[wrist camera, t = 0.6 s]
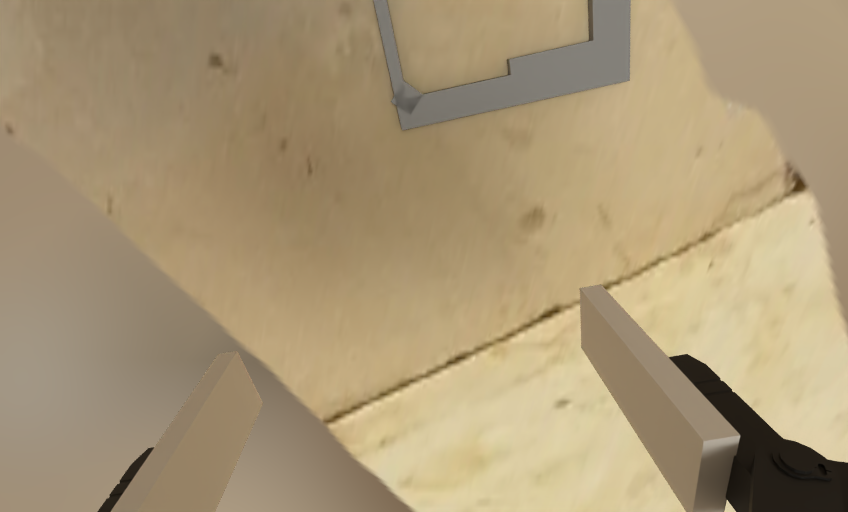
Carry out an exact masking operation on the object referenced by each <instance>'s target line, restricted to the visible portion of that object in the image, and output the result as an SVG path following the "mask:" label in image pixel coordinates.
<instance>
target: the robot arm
mask: <svg viewBox="0 0 848 512" xmlns="http://www.w3.org/2000/svg"><path fill="white" fill-rule="evenodd" d="M580 312H581V348H582V349H583V351H584V352H585V354H586V356H587V357H588V359H589V360H590V362H591V363H592V365H593V366H594V368H595V370H596V371H597V373H598V374H599V376H600V377H601V379H602V381H603V382H604V384H605V385H606V387H607V388H608V390H609V392H610V393H611V395H612V396H613V398H614V399H615V401H616V402H617V404H618V406H619V407H620V409H621V410H622V412H623V413H624V415H625V417H626V418H627V420H628V421H629V423H630V424H631V426H632V428H633V429H634V431H635V432H636V434H637V435H638V437H639V438H640V440H641V442H642V443H643V445H644V446H645V448H646V449H647V451H648V453H649V454H650V456H651V457H652V459H653V460H654V462H655V464H656V465H657V467H658V468H659V470H660V471H661V473H662V474H663V476H664V478H665V479H666V481H667V482H668V484H669V485H670V487H671V489H672V490H673V492H674V493H675V495H676V496H677V498H678V500H679V501H680V503H681V504H682V506H683V507H684V509H685V510H686V512H724V510H725V506H726V501H727V500H728V501H729V503H730V504H731V505H732V507H733V508H734V509H735V511H736V512H848V463H846V462H837V461H832V460H827V459H826V458H825V457H823V456H822V455H820V454H819V453H817V452H816V451H814V450H813V449H811V448H809V447H807V446H805V445H802V444H800V443H798V442H795V441H791V440H786V439H783V438H782V437H781V436H780V435H778V434H777V433H776V432H775V431H774V430H773V429H772V428H771V427H770V426H769V425H768V424H767V423H766V422H765V421H764V420H763V419H762V418H761V417H760V416H759V415H758V414H757V413H756V412H755V411H754V410H753V409H752V408H751V407H749V406H748V405H747V404H746V403H745V402H744V401H743V400H742V399H741V398H740V397H739V396H738V395H737V394H736V393H735V392H734V393H733V392H732V389H731V388H730V387H729V386H728V385H727V384H726V383H725V382H724V381H721V380H720V378H719V377H718V376H717V375H716V374H715V373H714V372H713V371H712V370H711V369H710V368H709V367H708V366H707V365H706V364H704V363H702V362H700V361H699V360H697V359H695V358H693V357H691V356H690V355H688V354H685V355H679V356H673V357H668V356H667V355H666V354H665V353H664V352H663V351H662V350H661V349H660V348H659V347H658V346H657V345H656V344H655V342H654V341H653V340H652V339H651V338H650V337H649V336H648V335H647V334H646V333H645V332H644V331H643V329H642V328H641V327H640V326H639V325H638V324H637V323H636V322H635V321H634V320H633V319H632V318H631V317H630V315H629V314H628V313H627V312H626V311H625V310H624V309H623V308H622V307H621V306H620V305H619V304H618V302H617V301H616V300H615V299H614V298H613V297H612V296H611V295H610V294H609V293H608V292H607V291H606V290H605V288H604V287H603V286H602V285H601V284H600V285H595V286H589V287H584V288H580ZM262 405H263V402H262V401H261V399H260V396H259V394H258V392H257V390H256V388H255V386H254V385H253V382H252V380H251V378H250V376H249V374H248V372H247V370H246V368H245V366H244V364H243V362H242V360H241V358H240V356H239V354H238V352H237V351H234V352H229V353H224V354H218V355H217V357H216V358H215V360H214V361H213V363H212V364H211V366H210V367H209V369H208V370H207V371H206V373H205V374H204V376H203V377H202V379H201V380H200V382H199V383H198V384H197V386H196V387H195V389H194V390H193V392H192V393H191V395H190V396H189V398H188V399H187V401H186V402H185V403H184V405H183V406H182V408H181V409H180V411H179V412H178V414H177V415H176V417H175V418H174V420H173V421H172V423H171V424H170V425H169V427H168V428H167V430H166V432H165V433H164V434H163V436H162V437H161V439H160V440H159V442H158V443H157V444H156V446H155V447H153V448H148V449H147V450H146V451H145V452H144V453H143V454H142V455H141V456H140V457H139V458H138V459H136V461H134V462H133V463H132V465H131V466H130V467H129V469H128V470H127V471H126V473H125V474H124V475H123V477H122V478H121V480H120V484H117V486H116V487H115V488H114V490H113V491H112V492H111V494H110V497H109V498H108V499H106V501H105V502H104V504H103V505H102V506H101V508H100V509H99V511H98V512H215V511H216V508H217V506H218V504H219V502H220V500H221V498H222V495H223V493H224V491H225V488H226V486H227V484H228V481H229V479H230V477H231V475H232V473H233V470H234V468H235V466H236V464H237V461H238V459H239V457H240V455H241V452H242V450H243V448H244V446H245V443H246V441H247V439H248V436H249V434H250V432H251V430H252V428H253V425H254V423H255V421H256V418H257V416H258V414H259V412H260V409H261V407H262Z"/></svg>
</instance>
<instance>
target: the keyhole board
mask: <svg viewBox="0 0 848 512" xmlns="http://www.w3.org/2000/svg"><path fill="white" fill-rule="evenodd" d="M374 5H375V9H376V14H377V18H378V23H379V27H380V32H381V37H382V41H383V46H384V50H385V55H386V59H387V64H388V68H389V73H390V78H391V82H392V87H393V91H394V97H393V99H392V101H391V102H392V103H393V104H395V105H396V106H397V110H398V114H399V119H400V123H401V128H402V130H407V129H411V128H416V127H420V126H425V125H429V124H434V123H438V122H443V121H448V120H452V119H457V118H461V117H466V116H470V115H475V114H479V113H484V112H489V111H493V110H498V109H502V108H507V107H511V106H516V105H520V104H525V103H530V102H534V101H539V100H543V99H548V98H552V97H557V96H561V95H566V94H571V93H575V92H580V91H584V90H589V89H593V88H598V87H602V86H607V85H612V84H616V83H621V82H625V81H630V0H588V7H589V41H588V42H584V43H579V44H575V45H571V46H566V47H562V48H557V49H553V50H548V51H544V52H540V53H535V54H531V55H526V56H522V57H517V58H513V59H509V60H507V63H508V73H509V75H507V76H502V77H498V78H493V79H489V80H484V81H480V82H475V83H471V84H467V85H462V86H458V87H453V88H449V89H444V90H440V91H435V92H431V93H426V94H422V93H420V92H419V91H417V90H416V89H415V88H413V87H412V86H410V85H409V84H408V83H406V82H405V81H403V76H402V71H401V67H400V62H399V57H398V52H397V47H396V42H395V38H394V33H393V28H392V23H391V18H390V14H389V9H388V4H387V0H374Z"/></svg>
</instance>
